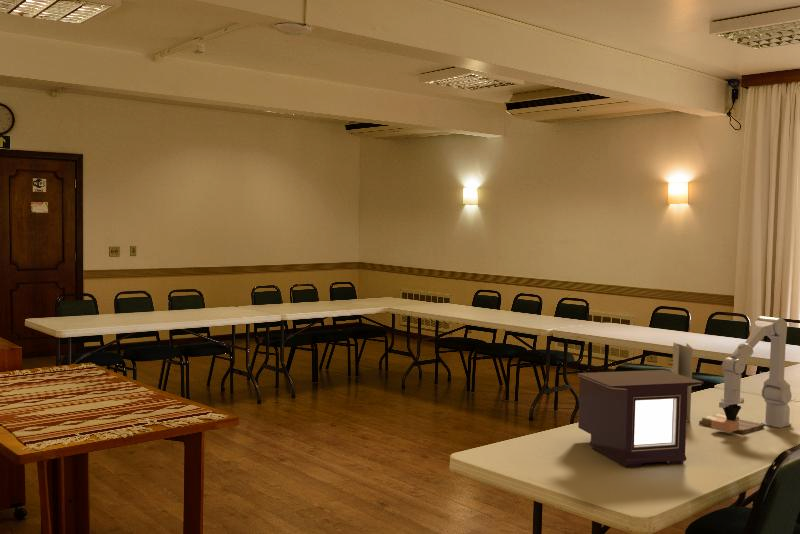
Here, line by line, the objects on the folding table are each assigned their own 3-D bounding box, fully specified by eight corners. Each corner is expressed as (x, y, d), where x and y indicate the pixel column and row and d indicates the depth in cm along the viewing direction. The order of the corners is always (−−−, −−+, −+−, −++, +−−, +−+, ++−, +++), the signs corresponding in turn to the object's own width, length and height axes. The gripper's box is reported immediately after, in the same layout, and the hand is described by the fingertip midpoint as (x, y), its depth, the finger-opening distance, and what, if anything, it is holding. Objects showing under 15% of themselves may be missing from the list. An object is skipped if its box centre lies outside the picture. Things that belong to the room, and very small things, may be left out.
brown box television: (702, 463, 261) (705, 382, 260) (609, 470, 252) (611, 386, 251) (642, 435, 295) (645, 364, 294) (558, 440, 286) (560, 367, 284)
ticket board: (721, 418, 323) (721, 412, 323) (763, 428, 309) (763, 421, 308) (699, 424, 313) (699, 417, 313) (742, 434, 299) (742, 427, 299)
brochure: (690, 422, 317) (692, 348, 315) (675, 421, 318) (678, 347, 316) (684, 413, 331) (687, 343, 329) (671, 413, 332) (673, 342, 330)
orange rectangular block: (719, 425, 305) (720, 417, 305) (738, 429, 299) (739, 422, 299) (711, 427, 301) (711, 420, 301) (730, 432, 295) (730, 424, 295)
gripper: (732, 385, 309) (731, 419, 310) (712, 389, 300) (710, 424, 301) (749, 388, 304) (748, 422, 304) (729, 392, 295) (728, 428, 296)
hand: (730, 423), depth 302 cm, fingers closed
